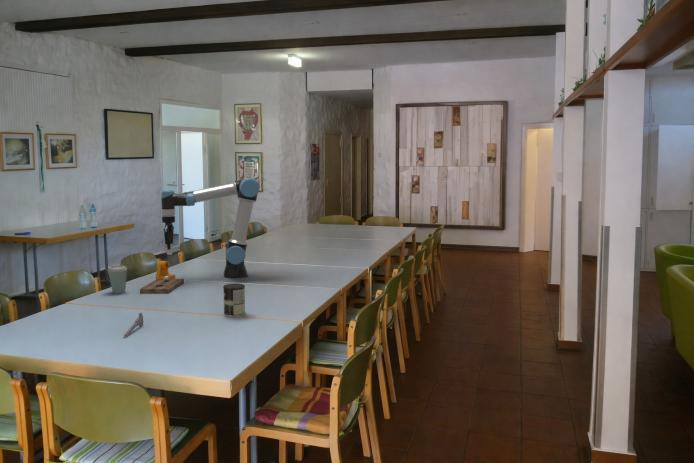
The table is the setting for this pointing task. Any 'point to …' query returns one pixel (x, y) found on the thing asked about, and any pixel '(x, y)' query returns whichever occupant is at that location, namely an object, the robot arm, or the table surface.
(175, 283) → the wooden board with holes
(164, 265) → the bracket
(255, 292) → the table surface
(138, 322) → the caliper
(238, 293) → the coffee can
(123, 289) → the disposable coffee cup
